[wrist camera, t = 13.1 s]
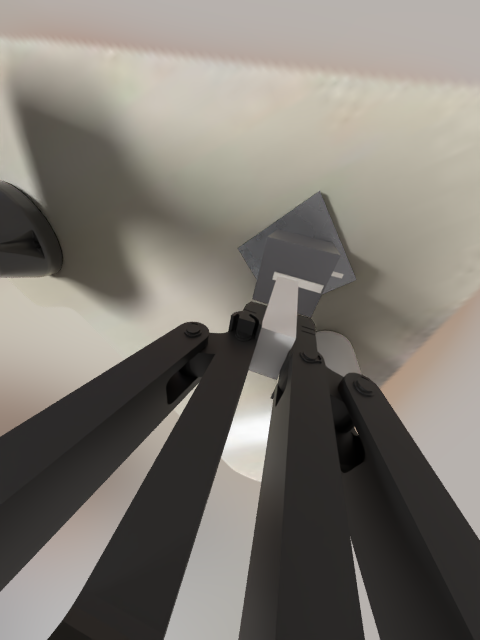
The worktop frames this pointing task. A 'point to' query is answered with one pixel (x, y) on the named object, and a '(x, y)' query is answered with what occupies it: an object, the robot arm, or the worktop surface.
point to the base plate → (307, 222)
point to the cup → (337, 352)
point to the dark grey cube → (296, 267)
